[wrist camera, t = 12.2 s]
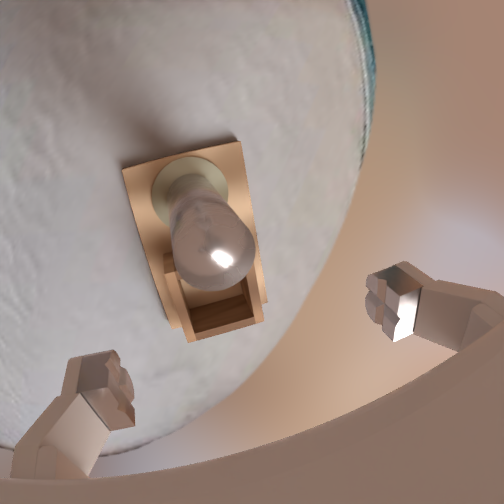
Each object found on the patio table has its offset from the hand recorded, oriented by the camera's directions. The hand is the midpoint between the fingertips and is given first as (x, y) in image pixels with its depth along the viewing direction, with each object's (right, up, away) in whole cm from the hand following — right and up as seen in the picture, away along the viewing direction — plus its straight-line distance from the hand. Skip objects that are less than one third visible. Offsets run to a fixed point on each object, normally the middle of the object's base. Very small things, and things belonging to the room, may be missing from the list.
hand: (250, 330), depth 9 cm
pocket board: (-5, +3, +20) cm, 20 cm away
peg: (-5, +7, +17) cm, 19 cm away
